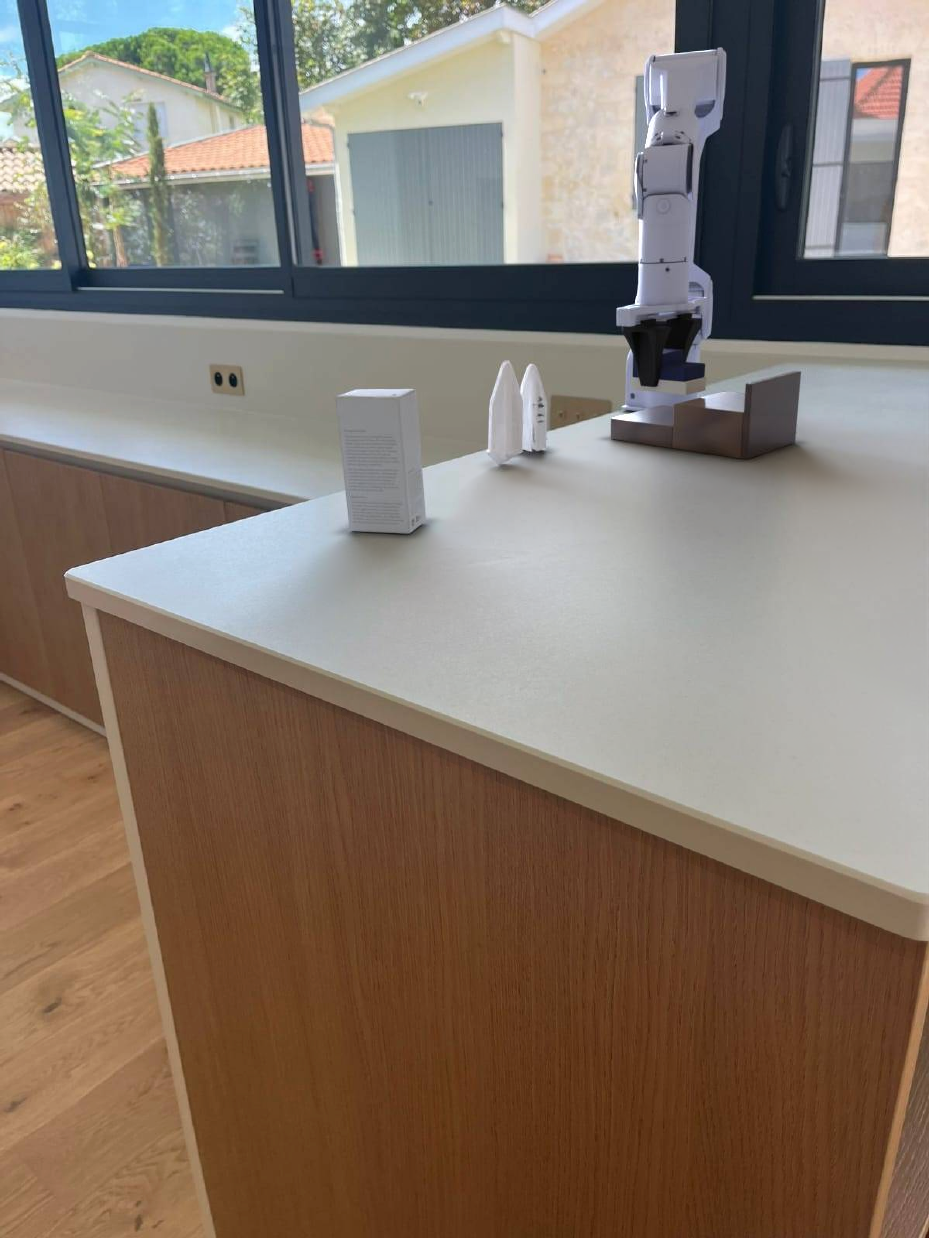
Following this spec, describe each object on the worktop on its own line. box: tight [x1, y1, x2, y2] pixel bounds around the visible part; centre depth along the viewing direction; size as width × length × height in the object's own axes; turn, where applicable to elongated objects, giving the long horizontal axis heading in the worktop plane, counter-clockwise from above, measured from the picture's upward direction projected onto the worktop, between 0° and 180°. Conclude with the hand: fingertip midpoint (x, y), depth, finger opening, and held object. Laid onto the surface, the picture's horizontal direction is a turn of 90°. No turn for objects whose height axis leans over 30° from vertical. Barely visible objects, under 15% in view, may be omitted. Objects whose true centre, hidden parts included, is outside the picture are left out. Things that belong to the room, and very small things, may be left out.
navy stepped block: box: [630, 348, 707, 395], centre depth 112 cm, size 8×4×4 cm, turn 43°
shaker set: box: [486, 360, 548, 466], centre depth 105 cm, size 12×4×11 cm, turn 152°
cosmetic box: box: [334, 388, 427, 534], centre depth 83 cm, size 6×4×12 cm
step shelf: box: [610, 370, 802, 460], centre depth 110 cm, size 19×10×8 cm, turn 43°
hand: (660, 383), depth 113 cm, fingers closed on navy stepped block, 4 cm apart
